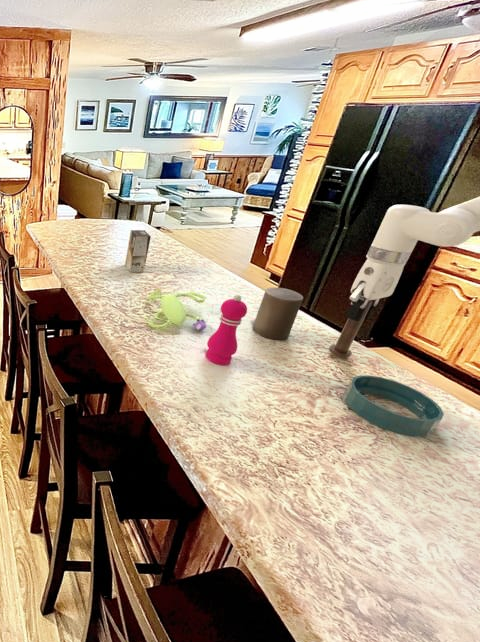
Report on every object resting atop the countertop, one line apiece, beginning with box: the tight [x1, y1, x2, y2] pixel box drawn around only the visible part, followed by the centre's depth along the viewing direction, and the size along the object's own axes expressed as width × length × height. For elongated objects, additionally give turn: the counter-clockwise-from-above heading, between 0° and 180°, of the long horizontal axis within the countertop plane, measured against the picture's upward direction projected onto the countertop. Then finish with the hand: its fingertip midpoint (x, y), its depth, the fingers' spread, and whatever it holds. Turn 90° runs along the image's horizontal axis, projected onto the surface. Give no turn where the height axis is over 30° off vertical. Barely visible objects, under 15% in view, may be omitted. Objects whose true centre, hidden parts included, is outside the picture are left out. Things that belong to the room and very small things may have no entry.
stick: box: [328, 298, 372, 359], centre depth 107 cm, size 5×5×17 cm
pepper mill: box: [205, 294, 248, 366], centre depth 104 cm, size 7×7×20 cm
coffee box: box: [124, 229, 152, 273], centre depth 167 cm, size 9×6×16 cm
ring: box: [341, 374, 445, 438], centre depth 88 cm, size 15×15×6 cm
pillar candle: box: [252, 286, 304, 341], centre depth 119 cm, size 10×10×15 cm
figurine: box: [146, 289, 207, 331], centre depth 130 cm, size 18×27×6 cm
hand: (357, 317), depth 106 cm, fingers closed on stick, 3 cm apart
